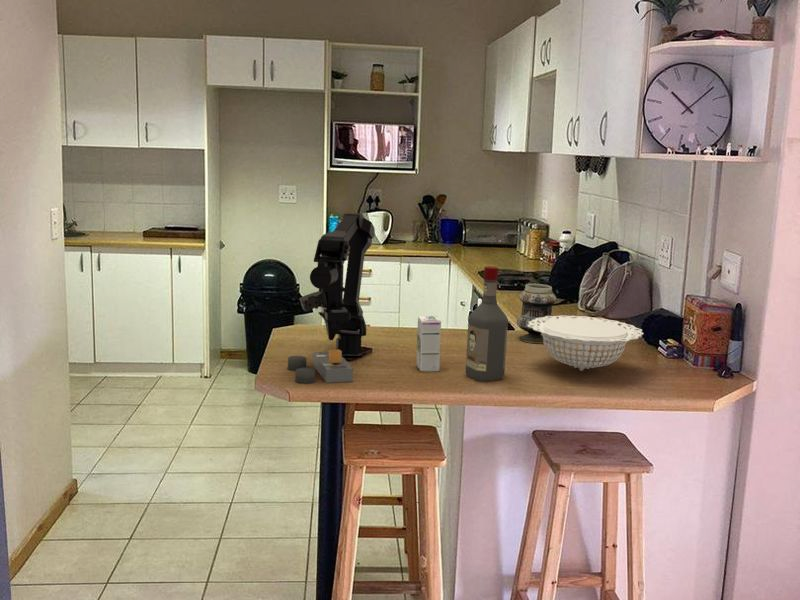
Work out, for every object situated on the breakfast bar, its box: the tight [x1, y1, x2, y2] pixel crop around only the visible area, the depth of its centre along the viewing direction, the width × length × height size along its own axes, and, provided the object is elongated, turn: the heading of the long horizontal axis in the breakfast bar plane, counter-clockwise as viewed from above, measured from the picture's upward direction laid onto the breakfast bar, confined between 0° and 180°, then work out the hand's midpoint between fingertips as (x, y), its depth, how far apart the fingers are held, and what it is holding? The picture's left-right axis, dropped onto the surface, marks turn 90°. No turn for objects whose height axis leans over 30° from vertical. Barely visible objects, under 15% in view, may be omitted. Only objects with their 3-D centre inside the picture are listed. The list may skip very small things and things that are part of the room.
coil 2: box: [295, 367, 316, 385], centre depth 214 cm, size 5×5×3 cm
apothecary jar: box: [516, 283, 557, 344], centre depth 267 cm, size 12×12×18 cm
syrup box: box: [415, 315, 442, 372], centre depth 228 cm, size 6×6×14 cm
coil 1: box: [287, 355, 308, 372], centre depth 225 cm, size 5×5×3 cm
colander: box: [528, 315, 644, 372], centre depth 233 cm, size 32×32×13 cm
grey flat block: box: [312, 350, 354, 384], centre depth 222 cm, size 7×18×4 cm, turn 17°
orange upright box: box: [328, 349, 342, 363], centre depth 218 cm, size 3×2×3 cm, turn 107°
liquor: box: [464, 266, 509, 383], centre depth 221 cm, size 9×9×30 cm
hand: (330, 339), depth 222 cm, fingers closed
